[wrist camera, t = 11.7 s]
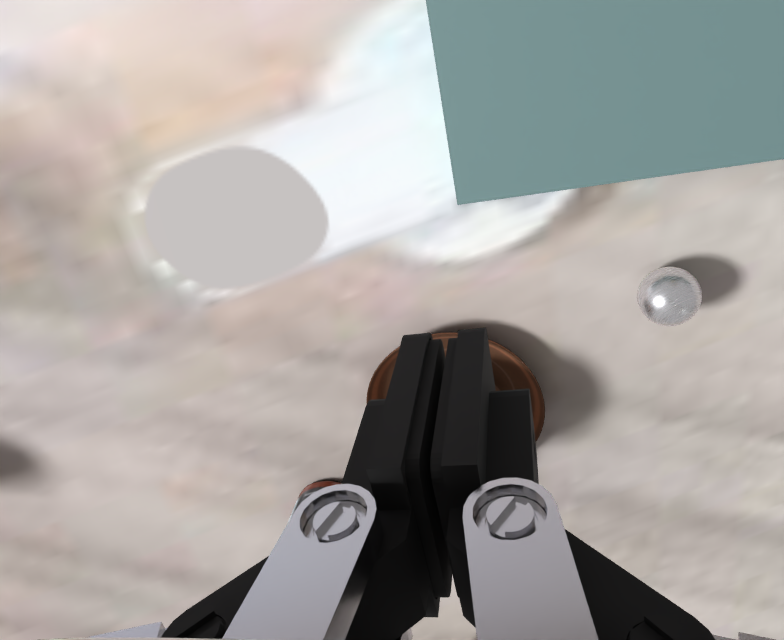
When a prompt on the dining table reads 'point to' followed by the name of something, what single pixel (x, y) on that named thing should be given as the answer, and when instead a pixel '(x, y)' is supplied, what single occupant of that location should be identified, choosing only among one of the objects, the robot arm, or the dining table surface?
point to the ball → (669, 296)
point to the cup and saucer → (505, 371)
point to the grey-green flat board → (605, 90)
